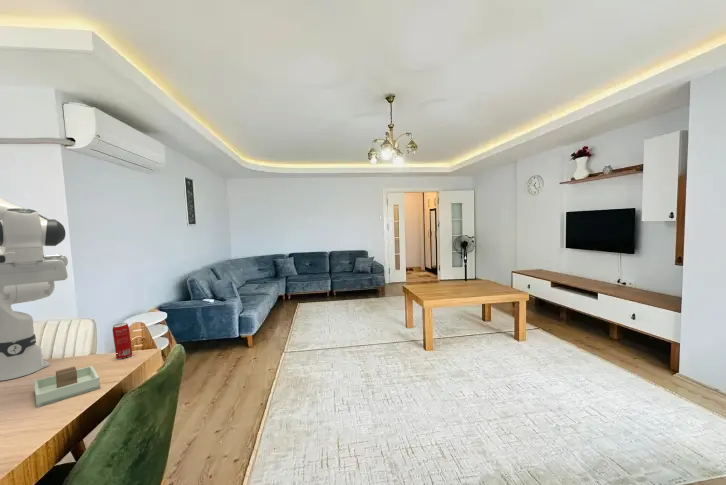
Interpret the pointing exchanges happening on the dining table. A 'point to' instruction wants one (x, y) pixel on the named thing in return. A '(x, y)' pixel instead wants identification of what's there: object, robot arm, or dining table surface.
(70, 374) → the walnut block
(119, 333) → the beverage can
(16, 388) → the dining table surface
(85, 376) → the bin
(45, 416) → the dining table surface
